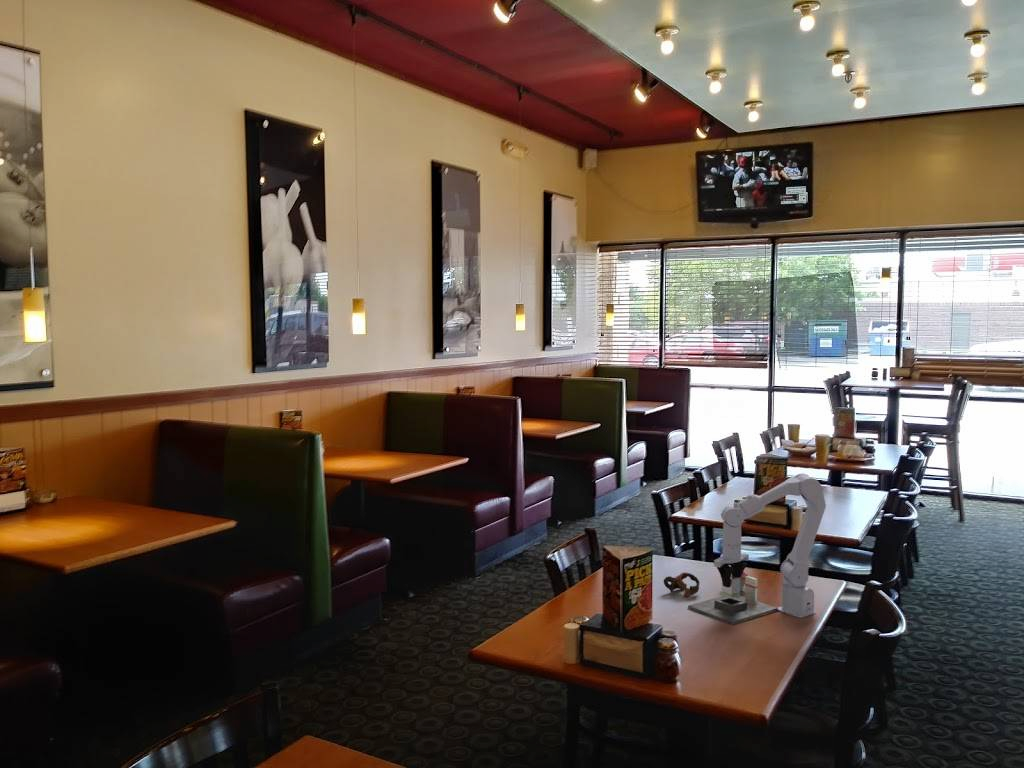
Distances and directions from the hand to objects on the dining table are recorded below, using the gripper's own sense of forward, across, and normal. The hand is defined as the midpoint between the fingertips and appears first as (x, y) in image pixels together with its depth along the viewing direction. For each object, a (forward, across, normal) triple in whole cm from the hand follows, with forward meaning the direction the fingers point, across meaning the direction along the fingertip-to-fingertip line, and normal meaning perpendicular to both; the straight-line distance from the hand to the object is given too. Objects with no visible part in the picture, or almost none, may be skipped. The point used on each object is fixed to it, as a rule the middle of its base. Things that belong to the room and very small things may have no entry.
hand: (731, 585), depth 264 cm
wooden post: (+4, 0, 0) cm, 4 cm away
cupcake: (+8, -18, -13) cm, 24 cm away
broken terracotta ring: (+8, +1, -21) cm, 23 cm away
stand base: (+8, 0, 0) cm, 8 cm away
